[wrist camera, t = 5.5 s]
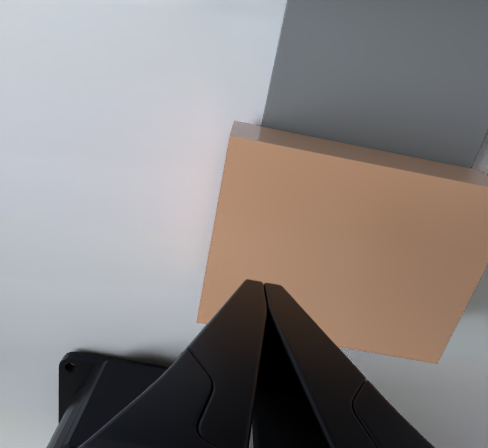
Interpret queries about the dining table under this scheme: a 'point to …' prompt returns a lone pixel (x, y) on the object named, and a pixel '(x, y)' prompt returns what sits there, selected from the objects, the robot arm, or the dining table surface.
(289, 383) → the robot arm
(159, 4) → the dining table surface
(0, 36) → the dining table surface
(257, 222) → the tan upright block
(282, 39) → the grey rectangular block
